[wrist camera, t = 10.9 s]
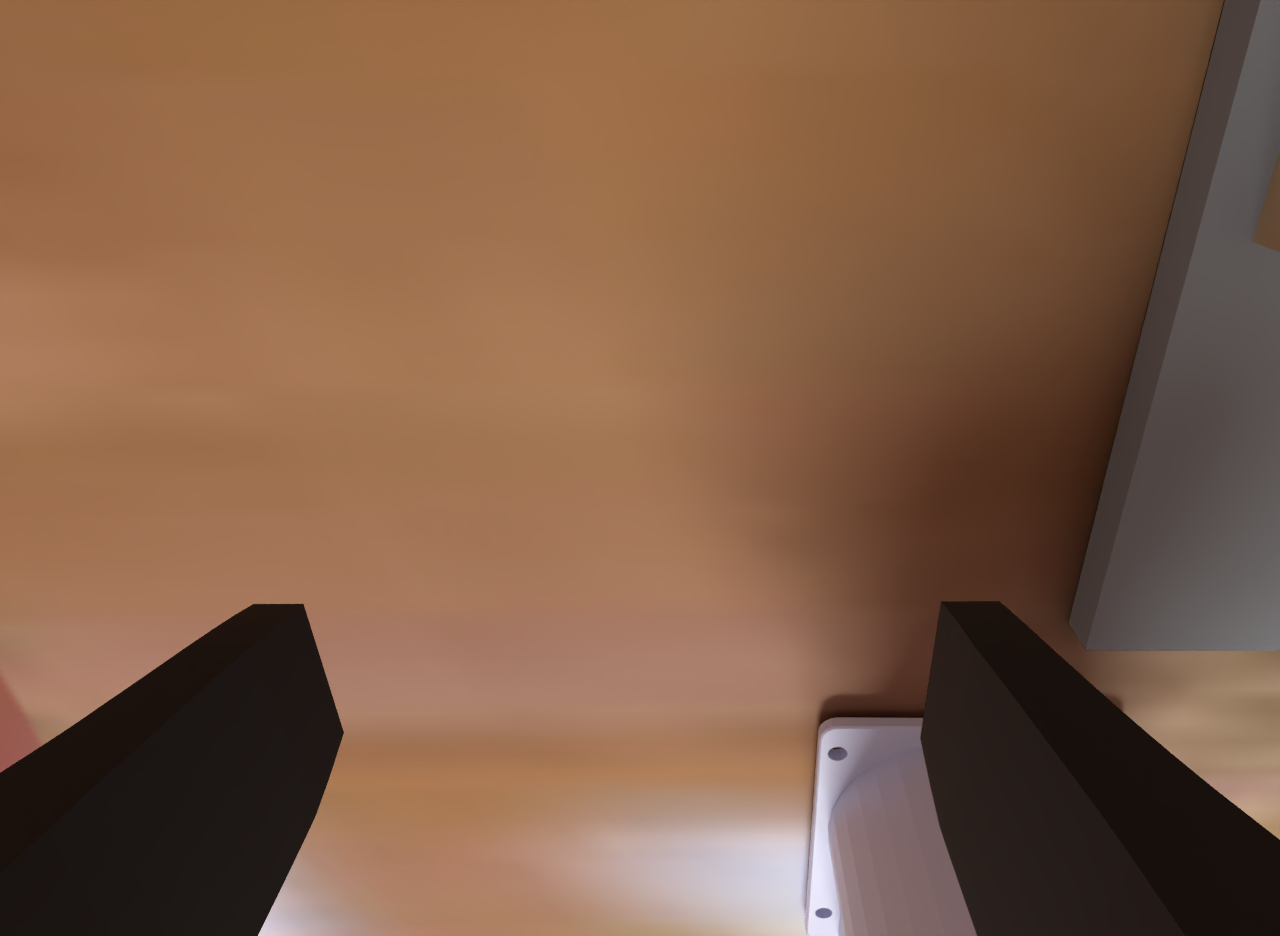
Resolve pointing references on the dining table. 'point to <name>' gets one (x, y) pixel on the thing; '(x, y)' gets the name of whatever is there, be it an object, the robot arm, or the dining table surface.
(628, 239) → the dining table surface
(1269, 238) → the maple block
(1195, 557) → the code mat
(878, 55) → the dining table surface
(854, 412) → the dining table surface
